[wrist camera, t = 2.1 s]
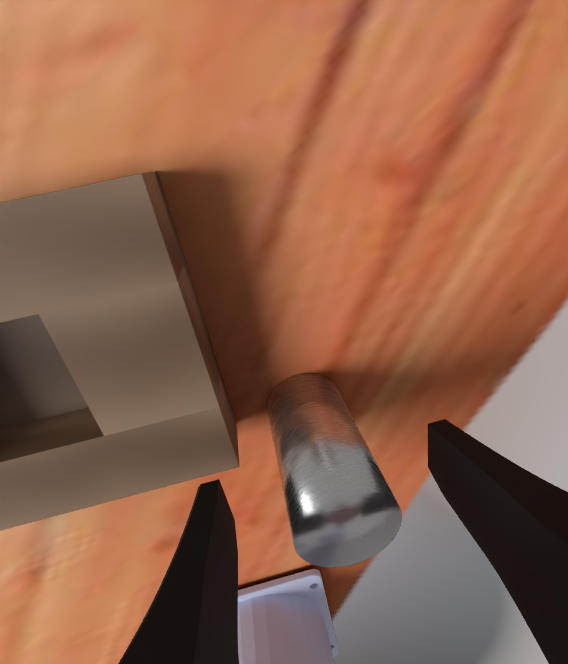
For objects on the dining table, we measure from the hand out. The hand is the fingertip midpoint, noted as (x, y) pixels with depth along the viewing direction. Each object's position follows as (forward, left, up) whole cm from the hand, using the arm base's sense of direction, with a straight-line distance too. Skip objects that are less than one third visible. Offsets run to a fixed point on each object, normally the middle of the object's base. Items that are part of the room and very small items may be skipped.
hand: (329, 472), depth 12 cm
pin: (0, 0, -4) cm, 4 cm away
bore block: (+5, +9, -4) cm, 11 cm away
